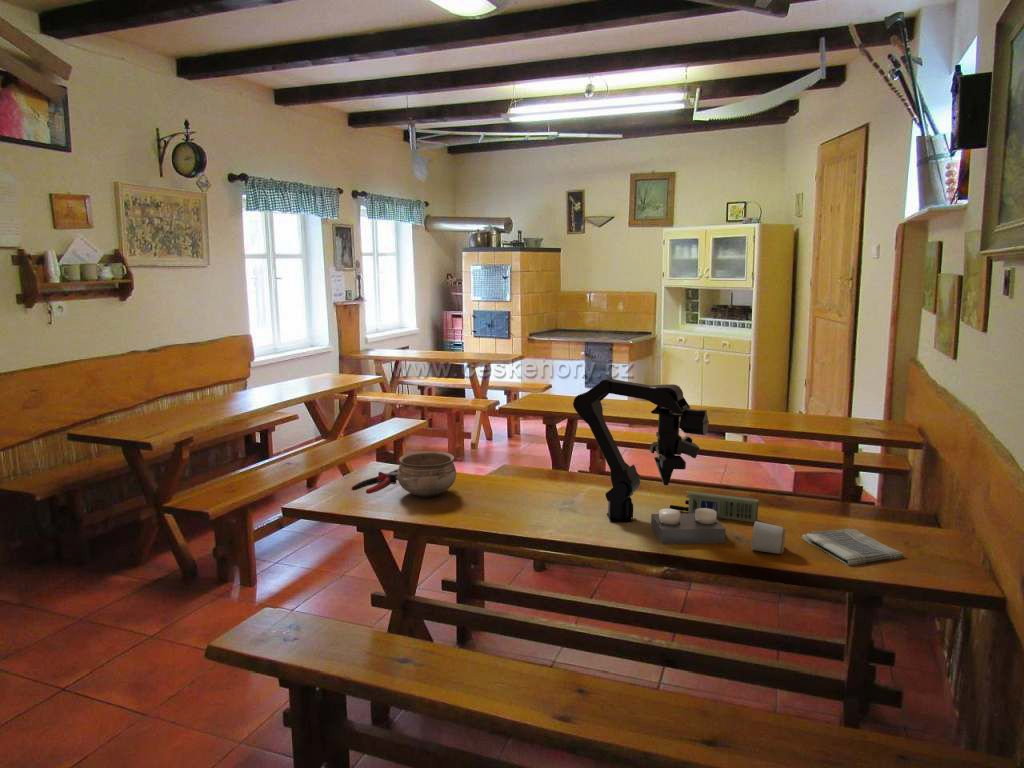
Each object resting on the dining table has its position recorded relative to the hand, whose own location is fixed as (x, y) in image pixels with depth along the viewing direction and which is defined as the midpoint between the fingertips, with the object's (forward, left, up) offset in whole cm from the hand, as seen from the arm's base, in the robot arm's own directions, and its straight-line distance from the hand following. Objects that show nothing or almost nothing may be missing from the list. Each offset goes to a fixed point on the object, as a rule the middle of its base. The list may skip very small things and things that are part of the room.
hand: (665, 484), depth 194 cm
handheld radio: (+17, +8, -13) cm, 23 cm away
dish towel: (+45, -17, -13) cm, 49 cm away
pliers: (-86, +45, -13) cm, 98 cm away
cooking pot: (-69, +31, -13) cm, 77 cm away
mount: (+5, -6, -12) cm, 15 cm away
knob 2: (+10, -6, -12) cm, 17 cm away
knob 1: (0, -6, -12) cm, 13 cm away
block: (+23, -17, -13) cm, 31 cm away
